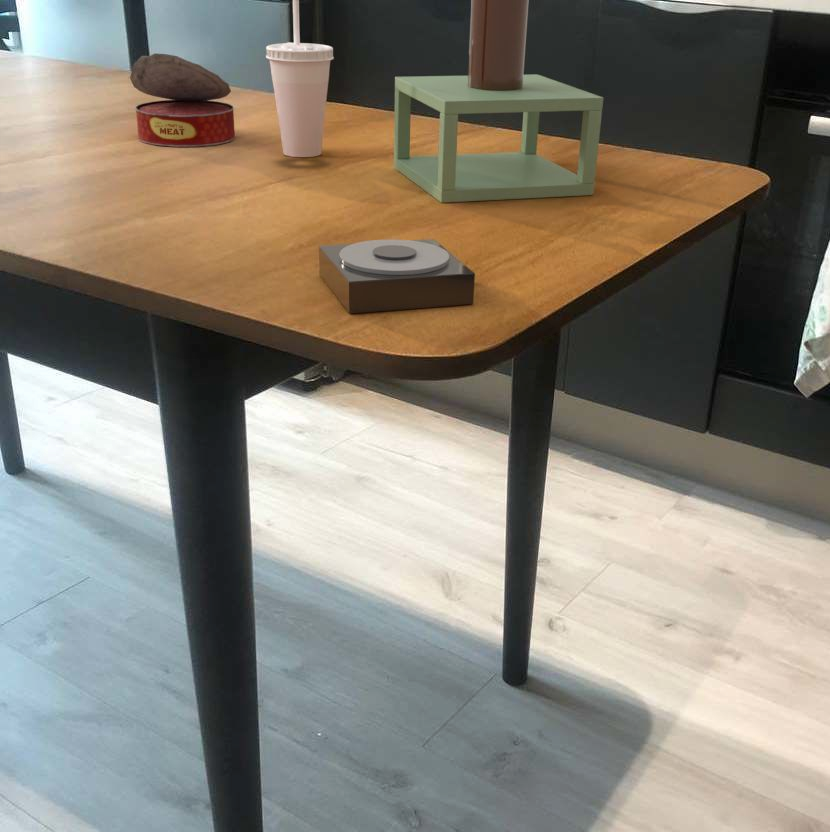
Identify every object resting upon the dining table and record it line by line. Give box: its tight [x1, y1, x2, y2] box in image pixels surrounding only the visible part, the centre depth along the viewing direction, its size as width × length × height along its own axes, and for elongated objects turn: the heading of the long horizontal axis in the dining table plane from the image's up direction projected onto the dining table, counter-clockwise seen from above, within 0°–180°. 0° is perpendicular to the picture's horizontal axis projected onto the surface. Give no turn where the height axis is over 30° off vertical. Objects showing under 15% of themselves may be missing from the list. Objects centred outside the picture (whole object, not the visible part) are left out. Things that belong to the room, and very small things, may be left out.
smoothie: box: [265, 0, 335, 158], centre depth 103 cm, size 6×6×14 cm
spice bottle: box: [467, 0, 530, 91], centre depth 91 cm, size 5×5×12 cm
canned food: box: [129, 53, 236, 148], centre depth 111 cm, size 11×10×10 cm
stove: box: [318, 238, 476, 315], centre depth 69 cm, size 8×8×2 cm
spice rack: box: [393, 73, 604, 204], centre depth 96 cm, size 14×14×8 cm
